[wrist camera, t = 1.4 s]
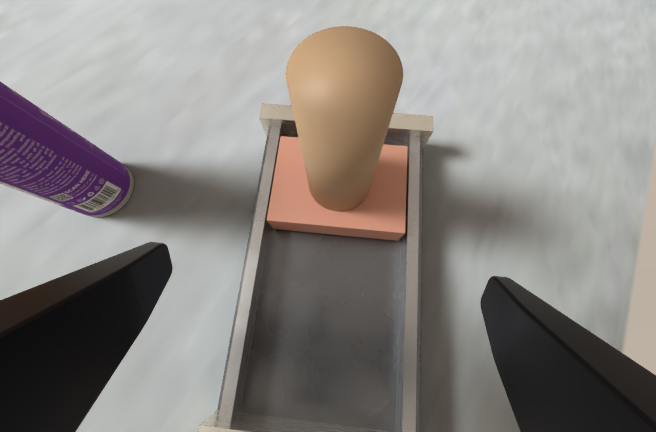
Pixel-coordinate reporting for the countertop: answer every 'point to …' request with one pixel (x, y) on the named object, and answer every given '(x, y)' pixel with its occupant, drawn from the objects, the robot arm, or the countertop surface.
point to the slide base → (327, 315)
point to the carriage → (341, 139)
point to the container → (57, 161)
